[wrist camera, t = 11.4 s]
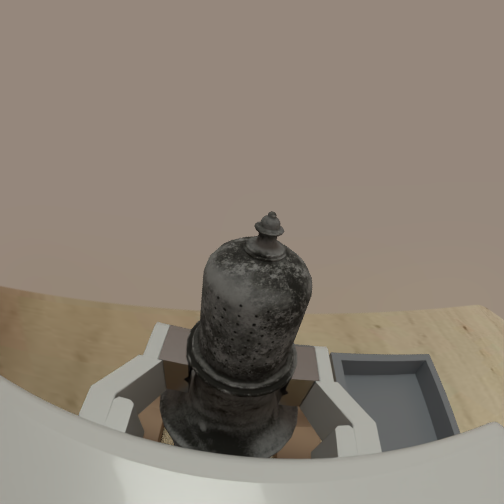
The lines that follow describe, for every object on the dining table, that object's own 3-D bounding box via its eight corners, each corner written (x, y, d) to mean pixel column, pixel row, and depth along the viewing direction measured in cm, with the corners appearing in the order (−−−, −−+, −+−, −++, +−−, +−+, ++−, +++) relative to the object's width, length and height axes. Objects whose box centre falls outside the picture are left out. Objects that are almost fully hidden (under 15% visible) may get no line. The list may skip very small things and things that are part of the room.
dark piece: (245, 376, 16) (295, 175, 10) (299, 453, 12) (436, 261, 6) (150, 404, 13) (123, 177, 7) (194, 499, 9) (191, 346, 3)
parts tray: (450, 488, 15) (472, 477, 13) (336, 522, 14) (354, 517, 12) (415, 371, 30) (428, 354, 28) (320, 371, 29) (331, 352, 28)
